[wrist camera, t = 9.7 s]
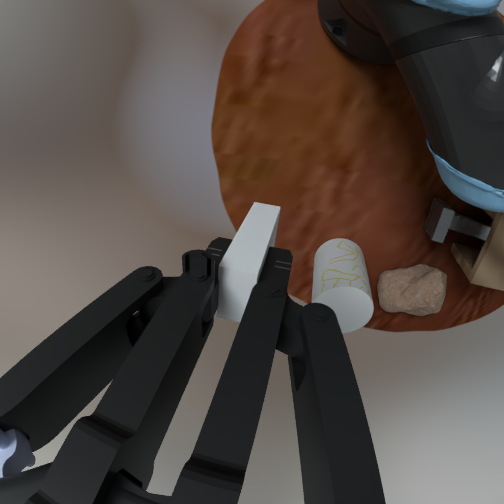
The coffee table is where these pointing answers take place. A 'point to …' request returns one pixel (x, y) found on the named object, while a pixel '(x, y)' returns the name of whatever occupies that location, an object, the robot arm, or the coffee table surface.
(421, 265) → the stone
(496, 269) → the tunnel
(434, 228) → the grey square dumbbell
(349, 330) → the cup
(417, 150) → the coffee table surface
